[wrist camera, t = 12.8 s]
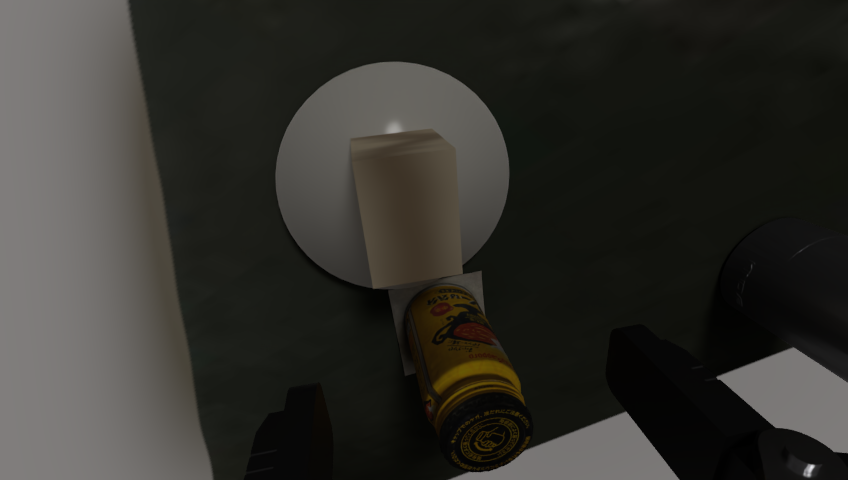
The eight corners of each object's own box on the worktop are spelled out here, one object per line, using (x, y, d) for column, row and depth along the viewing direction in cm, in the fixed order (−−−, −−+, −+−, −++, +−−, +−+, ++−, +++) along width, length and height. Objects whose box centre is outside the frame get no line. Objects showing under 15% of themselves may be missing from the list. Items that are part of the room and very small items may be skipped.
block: (431, 128, 25) (455, 148, 20) (440, 231, 28) (462, 273, 23) (350, 138, 24) (351, 161, 19) (367, 242, 27) (373, 288, 22)
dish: (502, 50, 25) (509, 50, 24) (503, 263, 31) (508, 271, 30) (250, 74, 23) (245, 75, 22) (305, 296, 30) (304, 305, 28)
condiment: (480, 269, 31) (551, 381, 21) (487, 354, 35) (550, 486, 24) (387, 288, 31) (410, 415, 20) (404, 373, 34) (431, 518, 23)
